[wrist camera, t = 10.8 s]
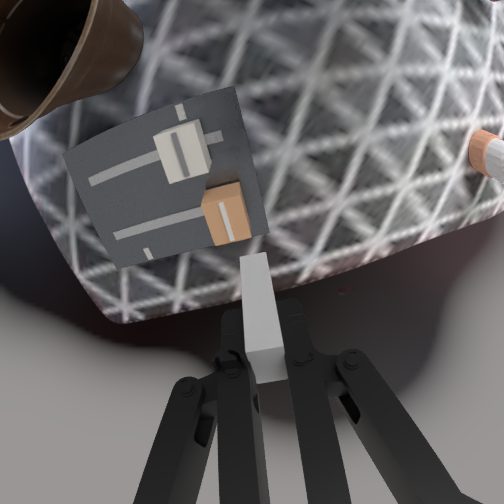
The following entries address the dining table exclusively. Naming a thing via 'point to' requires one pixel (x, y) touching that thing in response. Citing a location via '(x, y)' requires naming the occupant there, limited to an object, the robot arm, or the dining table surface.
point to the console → (163, 180)
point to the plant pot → (61, 54)
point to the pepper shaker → (487, 154)
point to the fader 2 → (226, 214)
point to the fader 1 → (183, 151)
